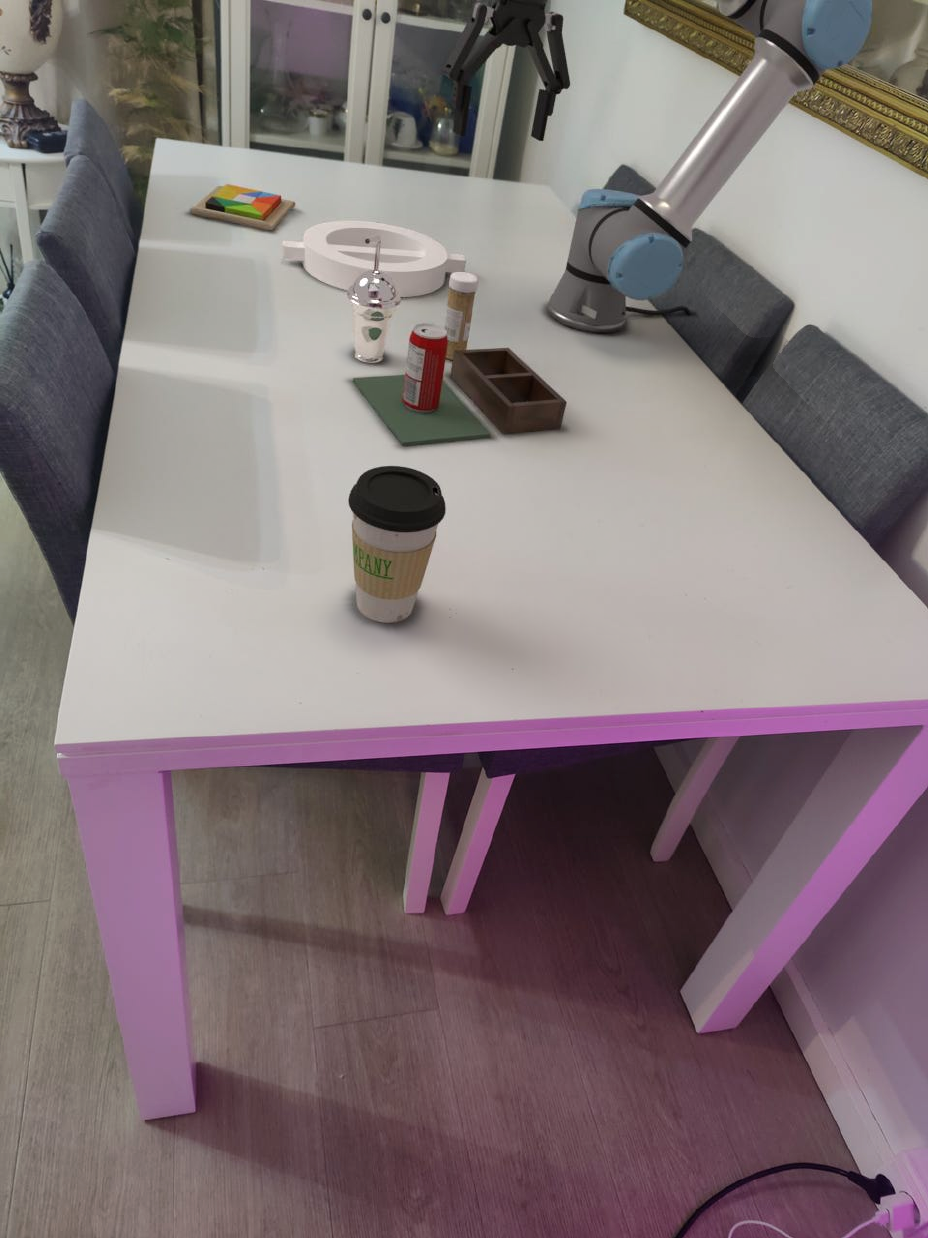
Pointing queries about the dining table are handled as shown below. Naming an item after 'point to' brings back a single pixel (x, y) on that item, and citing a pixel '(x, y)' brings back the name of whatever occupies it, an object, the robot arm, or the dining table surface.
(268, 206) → the wooden puzzle
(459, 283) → the sprinkles bottle
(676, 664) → the dining table surface
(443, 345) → the soda can
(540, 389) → the can holder
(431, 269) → the ring with crossbar
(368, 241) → the cup with straw
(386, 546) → the coffee cup
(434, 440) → the rubber mat
